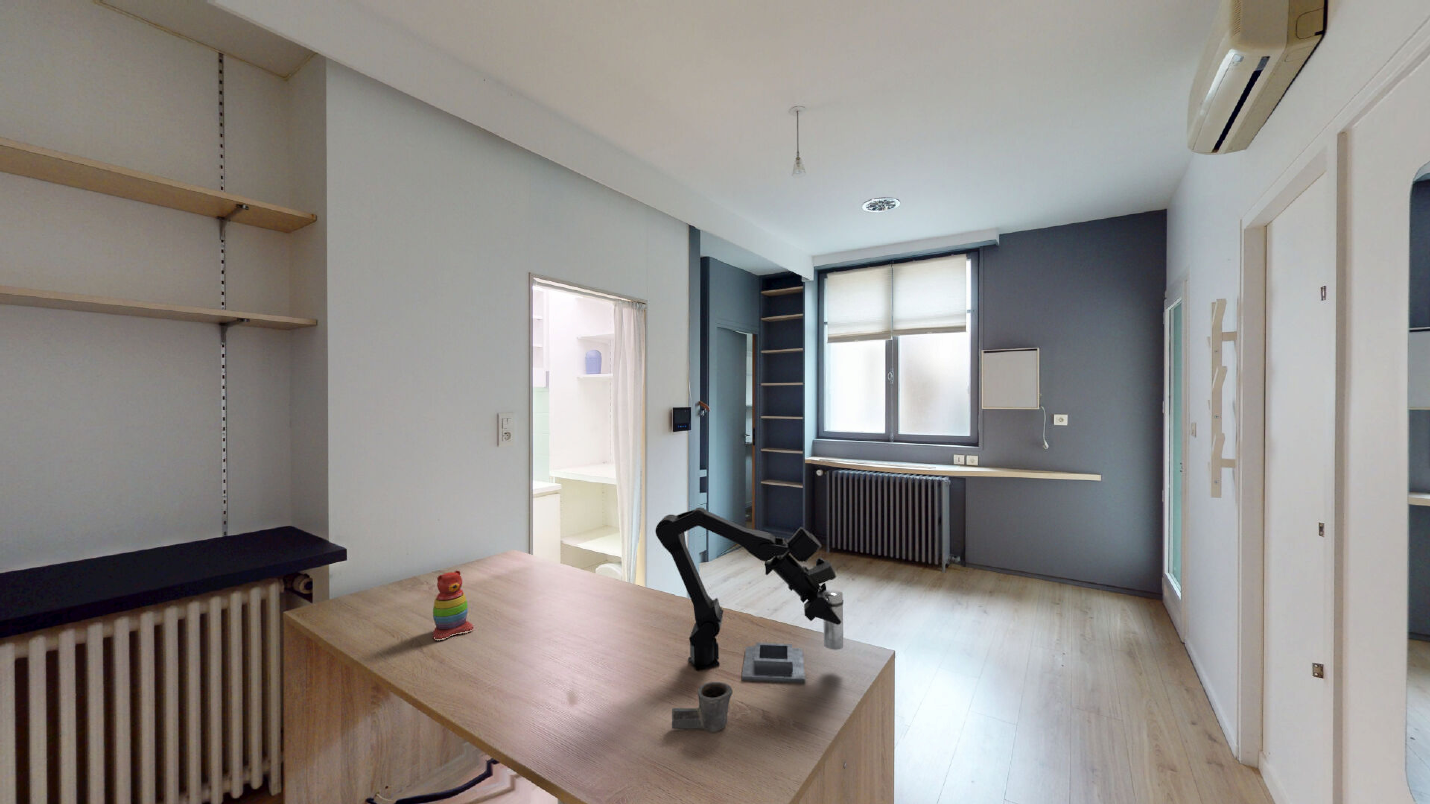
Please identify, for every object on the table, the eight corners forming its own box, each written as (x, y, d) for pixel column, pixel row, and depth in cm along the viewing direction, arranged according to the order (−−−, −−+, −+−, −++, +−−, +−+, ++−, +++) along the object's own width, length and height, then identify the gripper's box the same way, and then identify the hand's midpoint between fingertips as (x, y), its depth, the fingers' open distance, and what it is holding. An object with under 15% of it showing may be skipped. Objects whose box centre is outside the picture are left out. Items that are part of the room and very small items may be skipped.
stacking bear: (436, 643, 150) (434, 581, 149) (427, 632, 157) (425, 573, 157) (475, 631, 157) (473, 572, 156) (465, 621, 164) (463, 564, 164)
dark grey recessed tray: (742, 680, 126) (741, 666, 126) (746, 650, 141) (746, 637, 141) (805, 683, 124) (804, 668, 124) (802, 652, 139) (802, 639, 139)
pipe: (672, 722, 111) (670, 684, 110) (731, 717, 112) (730, 680, 112) (672, 741, 104) (671, 701, 104) (735, 735, 106) (734, 696, 106)
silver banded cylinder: (831, 651, 127) (830, 598, 127) (819, 642, 132) (818, 591, 132) (848, 647, 129) (847, 595, 129) (836, 638, 134) (835, 588, 134)
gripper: (818, 563, 121) (867, 612, 120) (813, 541, 140) (856, 583, 139) (784, 596, 122) (833, 645, 121) (784, 570, 141) (826, 612, 140)
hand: (838, 619), depth 130 cm, fingers closed on silver banded cylinder, 5 cm apart
